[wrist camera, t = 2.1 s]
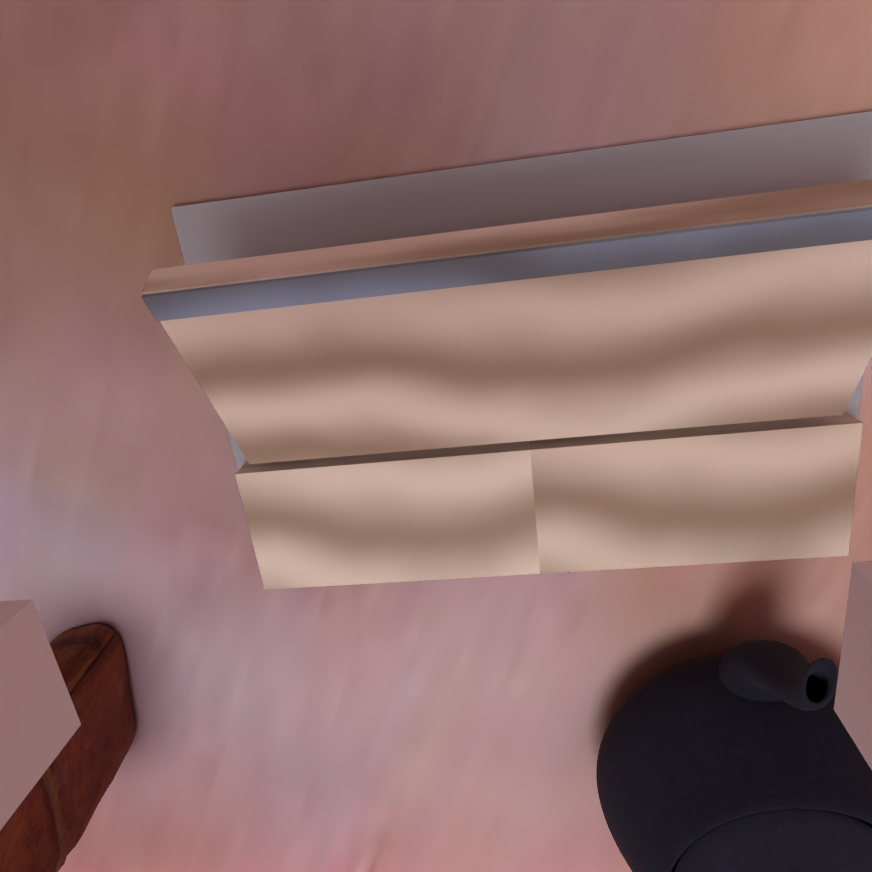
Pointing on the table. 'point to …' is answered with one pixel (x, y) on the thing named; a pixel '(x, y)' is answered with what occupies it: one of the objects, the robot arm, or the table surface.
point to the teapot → (737, 769)
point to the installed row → (558, 504)
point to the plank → (535, 327)
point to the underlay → (533, 192)
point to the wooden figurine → (75, 754)
